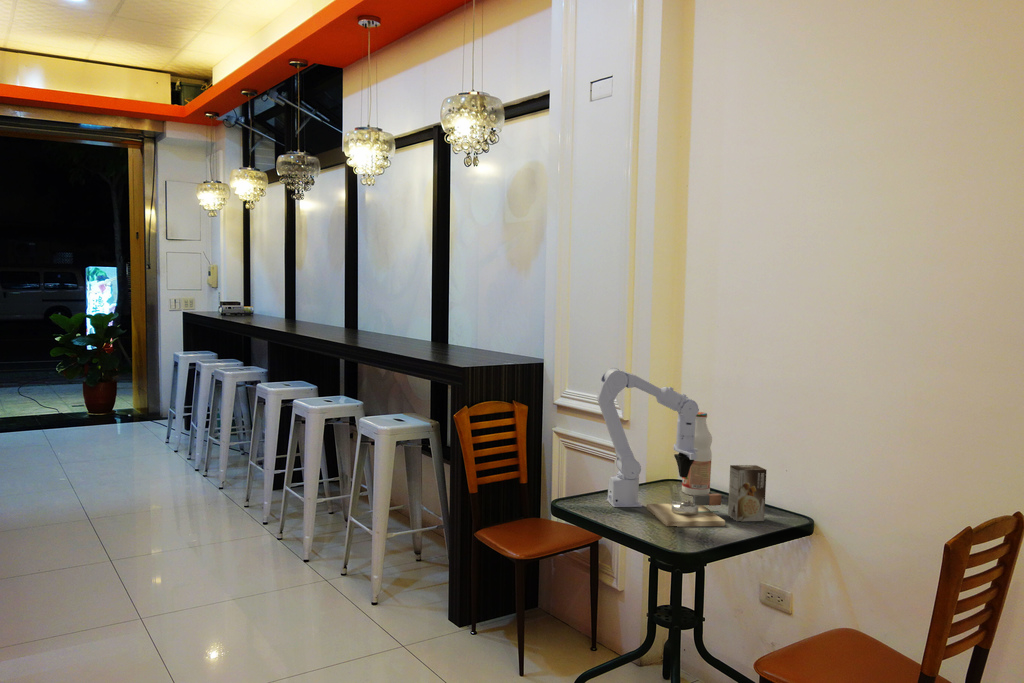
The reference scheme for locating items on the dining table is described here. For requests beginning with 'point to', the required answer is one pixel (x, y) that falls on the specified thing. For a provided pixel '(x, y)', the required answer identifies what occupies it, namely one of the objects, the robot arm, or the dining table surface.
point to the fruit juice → (700, 460)
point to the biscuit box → (747, 493)
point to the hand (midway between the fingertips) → (683, 476)
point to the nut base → (685, 516)
